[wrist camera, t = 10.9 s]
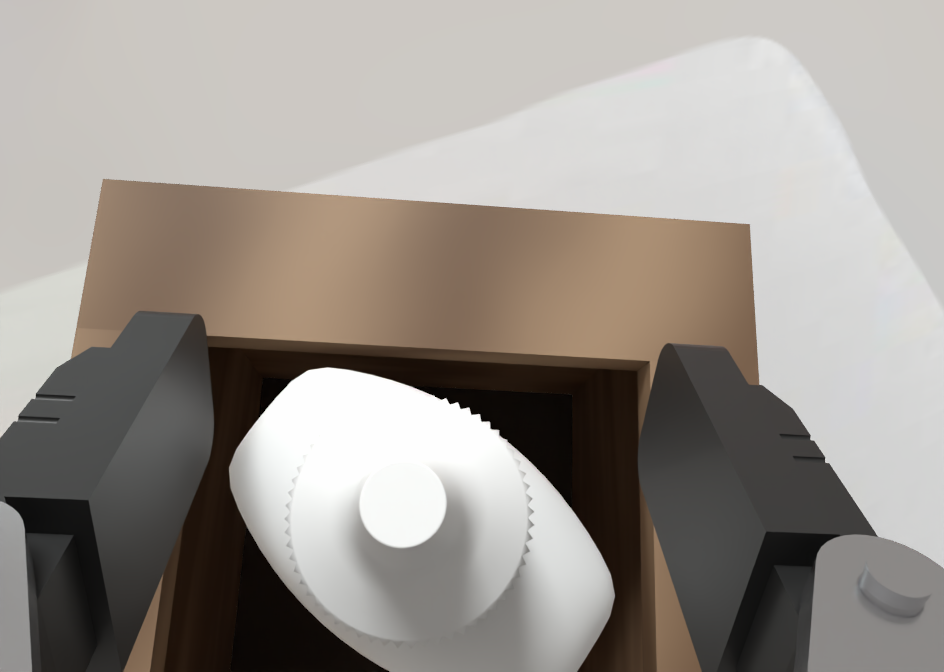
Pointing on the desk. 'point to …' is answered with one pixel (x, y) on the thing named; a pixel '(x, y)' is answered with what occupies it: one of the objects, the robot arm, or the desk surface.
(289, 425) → the eye dropper bottle
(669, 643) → the box
